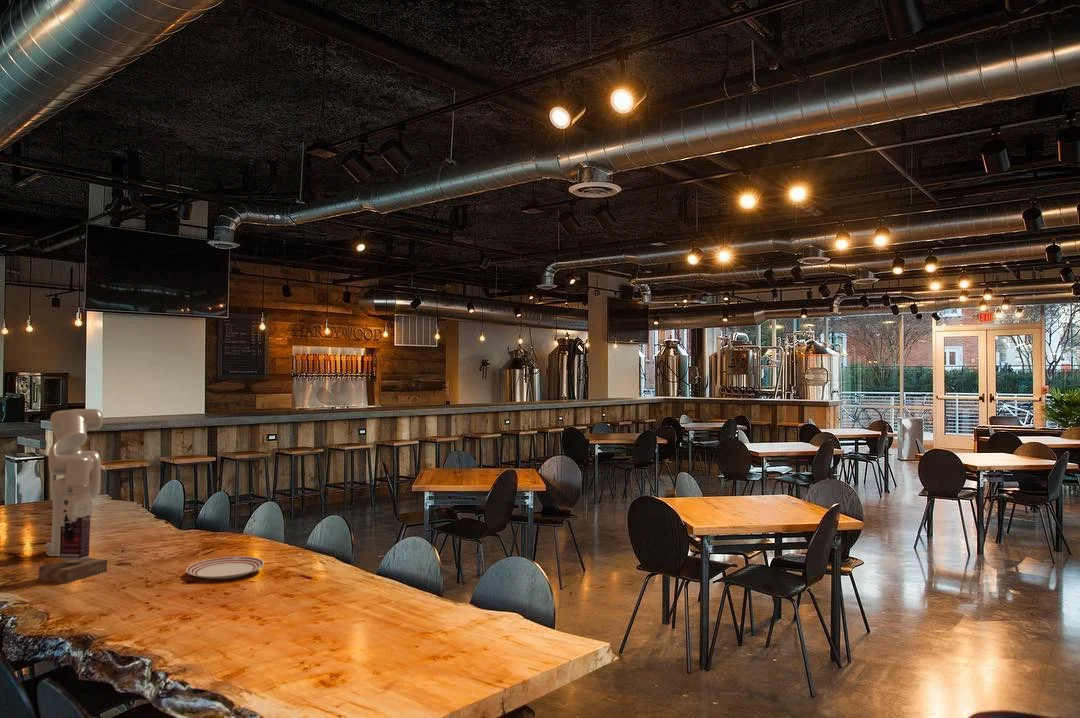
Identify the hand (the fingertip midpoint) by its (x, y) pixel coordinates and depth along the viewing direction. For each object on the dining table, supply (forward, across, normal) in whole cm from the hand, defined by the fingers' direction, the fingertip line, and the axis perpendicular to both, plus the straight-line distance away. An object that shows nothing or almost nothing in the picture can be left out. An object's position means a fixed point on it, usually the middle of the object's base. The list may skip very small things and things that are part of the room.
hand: (74, 538), depth 266 cm
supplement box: (+8, 0, 0) cm, 8 cm away
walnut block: (+14, 0, 0) cm, 14 cm away
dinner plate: (+14, +15, -52) cm, 56 cm away
